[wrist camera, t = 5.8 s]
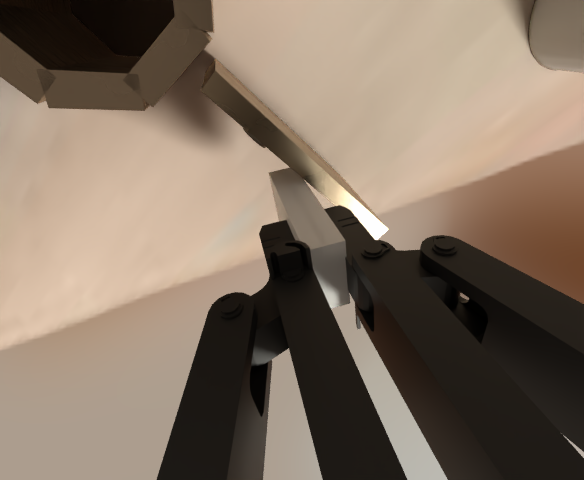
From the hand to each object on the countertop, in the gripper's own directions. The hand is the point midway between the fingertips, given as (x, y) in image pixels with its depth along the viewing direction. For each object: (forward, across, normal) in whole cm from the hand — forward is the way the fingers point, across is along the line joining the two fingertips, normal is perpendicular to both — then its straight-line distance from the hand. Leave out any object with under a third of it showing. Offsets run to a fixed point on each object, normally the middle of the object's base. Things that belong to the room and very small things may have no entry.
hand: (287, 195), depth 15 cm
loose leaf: (+4, +1, +2) cm, 5 cm away
